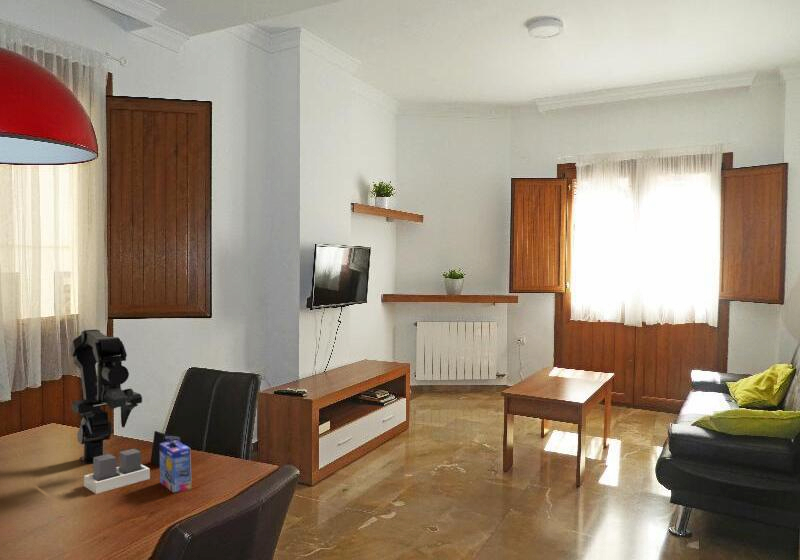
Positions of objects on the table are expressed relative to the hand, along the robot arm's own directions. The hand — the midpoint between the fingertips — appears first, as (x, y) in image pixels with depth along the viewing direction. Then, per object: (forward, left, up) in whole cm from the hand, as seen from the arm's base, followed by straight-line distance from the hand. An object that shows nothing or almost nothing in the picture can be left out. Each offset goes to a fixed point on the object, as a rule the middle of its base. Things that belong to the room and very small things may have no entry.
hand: (107, 430), depth 179 cm
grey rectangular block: (+11, -6, -12) cm, 17 cm away
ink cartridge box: (+25, +8, -13) cm, 29 cm away
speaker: (+5, +16, -13) cm, 21 cm away
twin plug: (+11, +2, -12) cm, 17 cm away
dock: (+11, -2, -13) cm, 17 cm away
